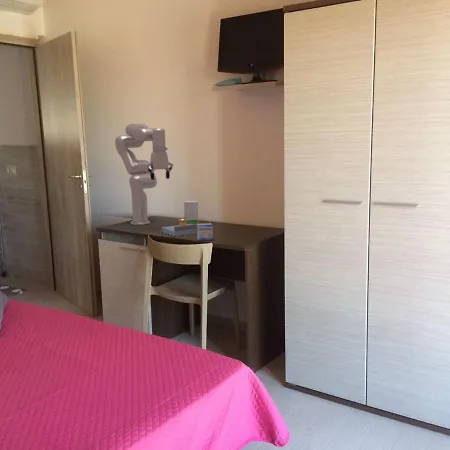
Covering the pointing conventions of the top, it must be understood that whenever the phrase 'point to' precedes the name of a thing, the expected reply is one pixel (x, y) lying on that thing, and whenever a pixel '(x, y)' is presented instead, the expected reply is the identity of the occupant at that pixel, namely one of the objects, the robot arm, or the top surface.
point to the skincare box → (191, 212)
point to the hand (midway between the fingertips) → (160, 179)
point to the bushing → (182, 221)
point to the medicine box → (204, 232)
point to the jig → (180, 230)
